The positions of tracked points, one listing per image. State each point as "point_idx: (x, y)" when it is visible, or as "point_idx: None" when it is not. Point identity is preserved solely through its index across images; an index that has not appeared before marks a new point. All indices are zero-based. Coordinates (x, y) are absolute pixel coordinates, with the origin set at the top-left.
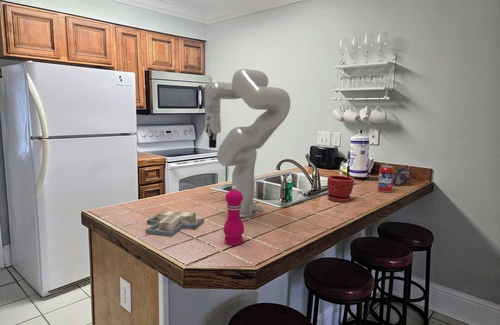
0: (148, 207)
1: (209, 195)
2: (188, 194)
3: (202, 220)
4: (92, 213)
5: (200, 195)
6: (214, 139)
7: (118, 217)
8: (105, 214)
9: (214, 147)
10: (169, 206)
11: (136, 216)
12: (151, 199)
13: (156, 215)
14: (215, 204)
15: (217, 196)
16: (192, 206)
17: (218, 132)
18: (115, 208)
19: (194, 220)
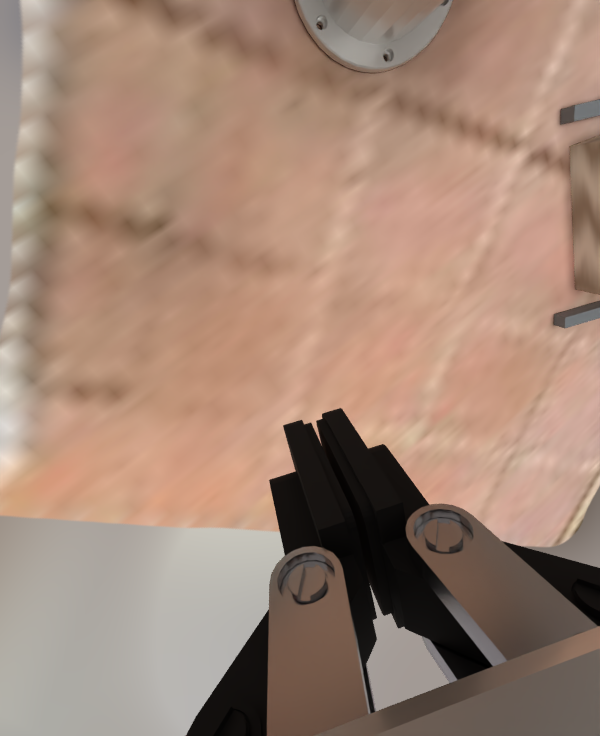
0: (465, 445)
1: (161, 373)
2: (215, 467)
3: (587, 102)
4: (573, 518)
5: (193, 410)
6: (418, 514)
7: (587, 432)
8: (572, 484)
9: (343, 416)
10: (423, 393)
11: (565, 396)
12: None
13: (584, 321)
14: (296, 232)
15: (149, 323)
16: (381, 312)
17: (405, 728)
18: (512, 514)
19: (596, 138)
